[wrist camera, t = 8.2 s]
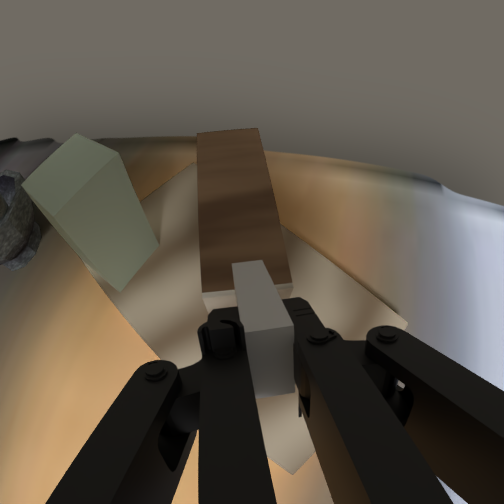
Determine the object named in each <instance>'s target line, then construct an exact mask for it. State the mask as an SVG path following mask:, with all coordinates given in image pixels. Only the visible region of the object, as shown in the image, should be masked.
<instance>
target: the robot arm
mask: <svg viewBox="0 0 504 504" xmlns="http://www.w3.org/2000/svg"><path fill="white" fill-rule="evenodd" d="M232 270H233V279H234V287H235V295H236V303H237V306H235V307H227V308H218V309H213V310H212V311H211V312H210V313H209V315H208V319H207V322H205V323H203V324H202V325H201V326H200V327H199V328H198V330H197V334H198V339H199V344H200V348H201V353H202V359H201V360H199V361H198V362H196V363H195V364H193V365H190V366H187V367H184V368H180V369H178V368H177V366H176V365H175V364H174V363H172V362H171V361H166V360H155V361H150V362H147V363H145V364H143V365H142V366H140V367H139V368H138V369H137V370H136V371H135V372H134V374H133V375H132V377H131V378H130V380H129V381H128V382H127V384H126V385H125V387H124V388H123V389H122V391H121V392H120V394H119V395H118V397H117V398H116V399H115V401H114V402H113V404H112V405H111V407H110V408H109V409H108V411H107V412H106V414H105V415H104V417H103V418H102V419H101V421H100V422H99V424H98V425H97V427H96V428H95V430H94V431H93V433H92V434H91V435H90V437H89V438H88V440H87V441H86V443H85V444H84V446H83V447H82V449H81V450H80V452H79V453H78V455H77V456H76V458H75V459H74V461H73V462H72V464H71V465H70V467H69V468H68V470H67V471H66V473H65V474H64V476H63V477H62V479H61V480H60V482H59V483H58V485H57V486H56V488H55V489H54V491H53V493H52V494H51V496H50V497H49V499H48V500H47V502H46V503H45V504H171V503H172V500H173V497H174V495H175V492H176V489H177V486H178V484H179V481H180V478H181V476H182V473H183V470H184V467H185V465H186V462H187V459H188V456H189V454H190V451H191V448H192V445H193V443H194V440H195V437H196V434H197V430H198V429H199V456H198V502H199V504H277V502H276V498H275V493H274V488H273V483H272V479H271V474H270V469H269V464H268V459H267V454H266V449H265V444H264V439H263V434H262V429H261V424H260V419H259V413H258V408H257V403H256V399H259V398H266V397H272V396H278V395H284V394H290V393H295V383H296V386H297V388H298V416H299V417H302V414H303V417H304V419H305V422H306V425H307V428H308V431H309V434H310V437H311V439H312V442H313V445H314V448H315V451H316V454H317V457H318V459H319V462H320V465H321V468H322V471H323V474H324V476H325V479H326V482H327V485H328V488H329V491H330V493H331V496H332V499H333V502H334V504H453V502H452V501H451V499H450V497H449V496H448V494H447V493H446V491H445V489H444V488H443V486H442V485H441V483H440V482H439V480H438V478H439V479H440V480H442V481H443V482H444V483H445V484H446V485H447V486H448V487H450V488H451V489H452V490H453V491H454V492H455V493H456V494H458V495H459V496H460V497H461V498H462V499H463V500H464V501H466V502H467V503H468V504H504V391H502V390H501V389H499V388H497V387H496V386H494V385H493V384H491V383H489V382H488V381H486V380H484V379H483V378H481V377H480V376H478V375H476V374H475V373H473V372H471V371H470V370H468V369H466V368H465V367H463V366H462V365H460V364H458V363H457V362H455V361H453V360H452V359H450V358H448V357H447V356H445V355H443V354H442V353H440V352H438V351H437V350H435V349H434V348H432V347H430V346H429V345H427V344H425V343H424V342H422V341H420V340H419V339H417V338H415V337H414V336H412V335H410V334H409V333H407V332H405V331H404V330H402V329H400V328H397V327H394V326H389V325H385V326H384V325H382V326H377V327H374V328H372V329H370V330H369V331H368V333H367V334H366V340H343V338H342V337H341V335H340V334H339V333H338V332H337V331H335V330H333V329H330V328H325V327H324V325H323V323H322V322H321V320H320V319H319V317H318V316H317V314H315V311H314V310H313V308H312V307H311V305H310V304H309V302H308V301H306V300H304V299H302V298H301V297H295V298H288V299H281V298H280V296H279V294H278V292H277V289H276V287H275V285H274V283H273V281H272V279H271V277H270V275H269V273H268V271H267V269H266V267H265V265H264V263H263V261H262V260H256V261H248V262H239V263H232ZM398 380H400V381H401V382H402V383H403V384H405V387H404V388H401V387H400V386H398V385H397V384H398ZM436 476H437V477H438V478H437V477H436Z"/></svg>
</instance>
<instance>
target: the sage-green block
mask: <svg viewBox="0 0 504 504" xmlns="http://www.w3.org/2000/svg"><path fill="white" fill-rule="evenodd" d="M21 186H22V187H23V188H24V190H25V191H26V192H27V194H28V195H29V196H30V198H31V199H32V200H33V202H34V203H35V204H36V206H37V207H38V208H39V209H40V211H41V212H42V213H43V214H44V216H45V217H46V218H47V219H48V221H49V222H50V223H51V224H52V226H53V227H54V228H55V229H56V230H57V231H58V233H59V234H60V235H61V236H62V237H63V239H64V240H65V241H66V242H67V243H68V244H69V245H70V247H71V248H72V249H73V250H74V251H75V252H76V253H77V254H78V255H79V257H80V258H81V259H82V260H83V261H84V262H85V263H86V264H87V265H89V266H90V267H91V268H92V269H93V270H94V271H95V272H96V273H98V274H99V275H100V276H101V277H102V278H103V279H104V280H106V281H107V282H108V283H109V284H110V285H111V286H113V287H114V288H115V289H116V290H117V291H119V292H121V291H122V290H123V288H124V287H125V286H126V285H127V283H128V282H129V281H130V280H131V278H132V277H133V276H134V275H135V274H136V272H137V271H138V270H139V269H140V268H141V266H142V265H143V264H144V263H145V262H146V260H147V259H148V258H149V257H150V256H151V254H152V253H153V252H154V251H155V250H156V248H157V247H158V246H159V243H158V241H157V239H156V237H155V235H154V233H153V231H152V228H151V226H150V224H149V222H148V220H147V218H146V215H145V213H144V211H143V209H142V206H141V204H140V202H139V200H138V197H137V195H136V193H135V191H134V188H133V186H132V183H131V181H130V179H129V176H128V174H127V172H126V169H125V167H124V164H123V162H122V159H121V157H120V154H119V153H118V152H116V151H114V150H112V149H110V148H108V147H106V146H103V145H101V144H99V143H97V142H95V141H93V140H90V139H88V138H86V137H84V136H82V135H80V134H77V133H75V134H74V135H73V136H72V137H71V138H70V139H68V140H67V141H66V142H65V143H64V144H63V145H61V146H60V147H59V148H58V149H57V150H56V151H55V152H54V153H53V154H52V155H50V156H49V157H48V158H47V159H46V160H45V161H44V162H43V163H42V164H41V165H40V166H39V167H38V168H37V169H36V170H35V171H34V172H33V173H32V174H31V175H30V176H29V177H28V178H27V179H26V180H25V181H24V182H23V183H22V184H21Z"/></svg>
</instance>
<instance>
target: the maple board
mask: <svg viewBox="0 0 504 504" xmlns="http://www.w3.org/2000/svg"><path fill="white" fill-rule="evenodd" d="M140 204H141V206H142V209H143V211H144V213H145V215H146V218H147V220H148V222H149V224H150V226H151V228H152V231H153V233H154V235H155V237H156V239H157V241H158V243H159V246H158V247H157V248H156V250H155V251H154V252H153V253H152V254H151V256H150V257H149V258H148V259H147V260H146V262H145V263H144V264H143V265H142V266H141V268H140V269H139V270H138V271H137V272H136V274H135V275H134V276H133V277H132V278H131V280H130V281H129V282H128V283H127V285H126V286H125V287H124V288H123V290H122V291H121V292H119V291H117V290H116V289H115V288H114V287H113V286H111V285H110V284H109V283H108V282H107V281H106V280H104V279H103V278H102V277H101V276H100V275H99V274H98V273H96V272H95V271H94V270H93V269H92V268H91V267H90V266H89V265H87V264H86V263H85V262H84V261H83V260H82V259H81V258H80V259H81V260H82V262H83V263H84V264H85V266H86V267H87V269H88V270H89V272H90V273H91V274H92V276H93V277H94V279H95V280H96V281H97V283H98V284H99V285H100V287H101V288H102V289H103V291H104V292H105V293H106V295H107V296H108V297H109V299H110V300H111V301H112V302H113V304H114V305H115V306H116V308H117V309H118V310H119V311H120V313H121V314H122V315H123V316H124V318H125V319H126V320H127V321H128V322H129V324H130V325H131V326H132V327H133V328H134V330H135V331H136V332H137V333H138V334H139V335H140V337H141V338H142V339H143V340H144V341H145V342H146V344H147V345H148V346H149V347H150V348H151V349H152V350H153V351H154V352H155V354H156V355H157V356H158V357H159V358H160V359H161V360H166V361H171V362H172V363H174V364H175V365H176V366H177V368H178V369H180V368H184V367H187V366H190V365H193V364H195V363H196V362H198V361H199V360H201V359H202V353H201V348H200V344H199V339H198V334H197V330H198V328H199V327H200V326H201V325H202V324H203V323H205V322H207V319H208V315H209V314H208V311H207V309H206V306H205V304H204V301H203V299H202V286H201V270H200V250H199V227H198V193H197V165H196V164H195V163H192V164H191V165H189V166H188V167H186V168H185V169H184V170H182V171H181V172H179V173H178V174H177V175H175V176H174V177H172V178H171V179H170V180H168V181H167V182H166V183H164V184H163V185H162V186H160V187H159V188H158V189H156V190H155V191H154V192H152V193H151V194H150V195H148V196H147V197H146V198H145V199H143V200H142V201H141V202H140ZM280 225H281V224H280ZM281 230H282V234H283V239H284V244H285V248H286V253H287V258H288V263H289V267H290V272H291V277H292V282H293V287H294V288H293V291H292V293H291V296H290V298H295V297H301V298H302V299H304V300H306V301H308V302H309V304H310V305H311V307H312V308H313V310H314V311H315V314H317V316H318V317H319V319H320V320H321V322H322V323H323V325H324V327H325V328H330V329H333V330H335V331H337V332H338V333H339V334H340V335H341V337H342V338H343V340H366V334H367V333H368V331H369V330H370V329H372V328H374V327H377V326H382V325H384V326H385V325H389V326H394V327H397V328H400V329H402V330H405V328H406V326H407V325H408V323H407V322H406V321H405V320H404V319H402V318H401V317H400V316H399V315H398V314H396V313H395V312H394V311H393V310H391V309H390V308H389V307H388V306H386V305H385V304H384V303H383V302H382V301H380V300H379V299H378V298H377V297H375V296H374V295H373V294H372V293H370V292H369V291H368V290H366V289H365V288H364V287H363V286H361V285H360V284H359V283H358V282H356V281H355V280H354V279H352V278H351V277H350V276H349V275H347V274H346V273H345V272H343V271H342V270H341V269H340V268H338V267H337V266H336V265H334V264H333V263H332V262H331V261H329V260H328V259H327V258H325V257H324V256H323V255H321V254H320V253H319V252H317V251H316V250H315V249H313V248H312V247H311V246H309V245H308V244H307V243H305V242H304V241H303V240H301V239H300V238H299V237H297V236H296V235H295V234H293V233H292V232H291V231H289V230H288V229H287V228H285V227H284V226H283V225H281ZM78 256H79V255H78ZM256 403H257V408H258V413H259V419H260V424H261V429H262V434H263V439H264V444H265V449H266V454H267V457H268V458H270V459H271V460H272V461H274V462H275V463H276V464H278V465H279V466H281V467H282V468H283V469H285V470H286V471H287V472H289V473H290V474H292V475H293V474H294V473H295V472H296V471H297V470H298V469H299V468H300V467H301V466H302V465H303V464H304V463H305V462H306V461H307V460H308V459H309V458H310V457H311V456H312V455H313V454H314V452H315V448H314V445H313V442H312V439H311V437H310V434H309V431H308V428H307V425H306V422H305V419H304V417H303V414H302V417H299V416H298V388H297V386H296V383H295V393H290V394H284V395H278V396H272V397H266V398H259V399H256Z"/></svg>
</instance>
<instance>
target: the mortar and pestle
mask: <svg viewBox="0 0 504 504" xmlns="http://www.w3.org/2000/svg"><path fill="white" fill-rule="evenodd" d="M24 181H25V180H24V178H23V177H22V175H21V174H20V173H19V172H15V171H10V170H5V171H3V172H1V173H0V265H1V264H3V265H4V266H6V267H7V268H9V269H10V270H12V271H14V270H17V269H19V268H22V267H25V266H26V264H27V263H28V262H29V261H30V260H31V258H32V257H33V256H34V255H35V254H36V252H37V249H38V246H39V243H40V240H41V233H40V228H39V225H38V224H37V223H36V222H35V218H34V211H33V204H32V199H31V198H30V196H29V195H28V194H27V192H26V191H25V190H24V188H23V187H22V186H21V184H22V183H23V182H24Z"/></svg>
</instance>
